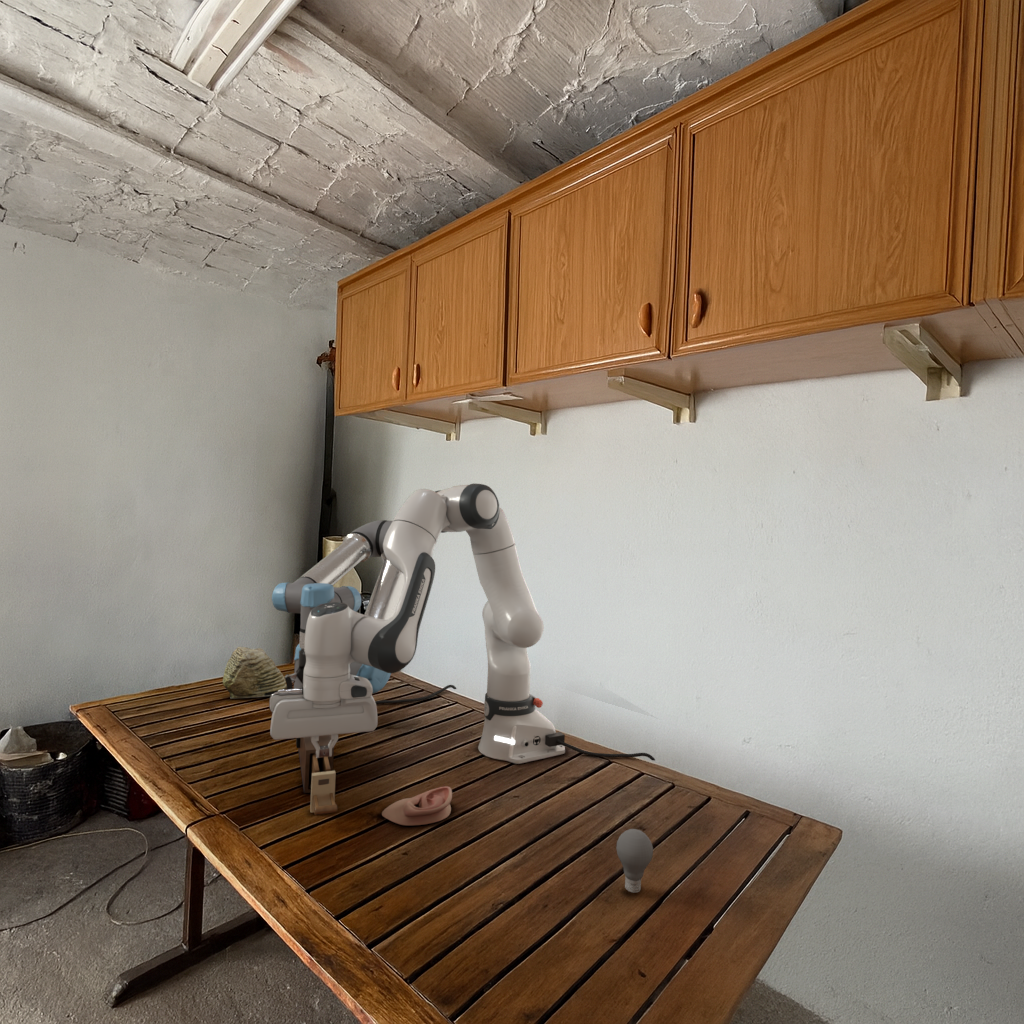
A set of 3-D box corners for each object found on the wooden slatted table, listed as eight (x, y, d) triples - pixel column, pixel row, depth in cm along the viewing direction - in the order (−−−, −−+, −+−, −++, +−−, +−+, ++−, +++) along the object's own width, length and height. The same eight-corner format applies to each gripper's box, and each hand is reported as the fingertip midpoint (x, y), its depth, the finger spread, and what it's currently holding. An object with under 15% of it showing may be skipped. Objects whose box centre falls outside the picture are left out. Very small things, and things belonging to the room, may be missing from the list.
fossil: (218, 695, 195) (220, 647, 195) (278, 685, 208) (279, 640, 207) (228, 703, 189) (230, 653, 188) (289, 692, 201) (290, 645, 201)
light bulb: (610, 879, 108) (613, 822, 108) (644, 879, 109) (647, 822, 109) (619, 902, 102) (622, 840, 102) (655, 901, 103) (658, 840, 103)
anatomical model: (375, 801, 124) (398, 776, 135) (375, 821, 124) (397, 795, 136) (440, 811, 122) (457, 785, 133) (439, 831, 122) (456, 803, 133)
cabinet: (331, 790, 137) (333, 747, 136) (304, 793, 135) (306, 750, 134) (322, 746, 157) (324, 709, 156) (298, 749, 155) (299, 711, 154)
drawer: (337, 826, 122) (339, 788, 122) (313, 829, 121) (314, 791, 120) (324, 763, 147) (325, 731, 146) (303, 765, 145) (305, 733, 145)
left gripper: (274, 654, 145) (270, 754, 145) (357, 650, 152) (354, 746, 152) (273, 646, 152) (270, 742, 152) (353, 643, 159) (350, 735, 159)
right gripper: (269, 695, 118) (267, 768, 118) (380, 687, 125) (377, 757, 125) (269, 685, 124) (267, 755, 124) (375, 678, 131) (372, 745, 131)
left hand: (312, 744), depth 152 cm, fingers closed on cabinet, 6 cm apart
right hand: (323, 756), depth 125 cm, fingers closed
